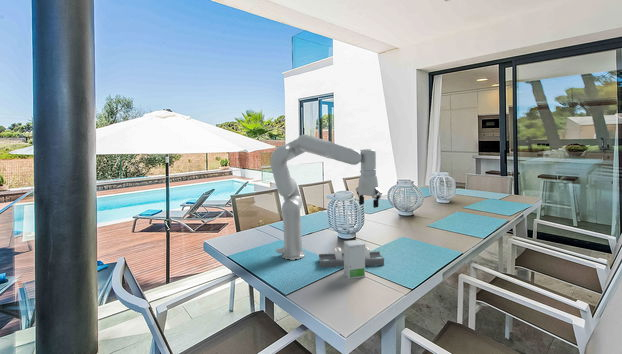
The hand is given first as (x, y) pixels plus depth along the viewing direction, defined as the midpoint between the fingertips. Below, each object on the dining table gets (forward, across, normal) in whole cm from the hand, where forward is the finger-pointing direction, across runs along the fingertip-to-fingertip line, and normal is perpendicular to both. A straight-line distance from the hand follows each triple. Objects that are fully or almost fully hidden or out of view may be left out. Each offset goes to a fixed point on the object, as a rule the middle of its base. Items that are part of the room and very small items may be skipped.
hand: (368, 205), depth 151 cm
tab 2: (+24, +4, -7) cm, 26 cm away
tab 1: (+24, -4, -19) cm, 31 cm away
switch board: (+27, 0, -14) cm, 30 cm away
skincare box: (+27, +11, -22) cm, 37 cm away
